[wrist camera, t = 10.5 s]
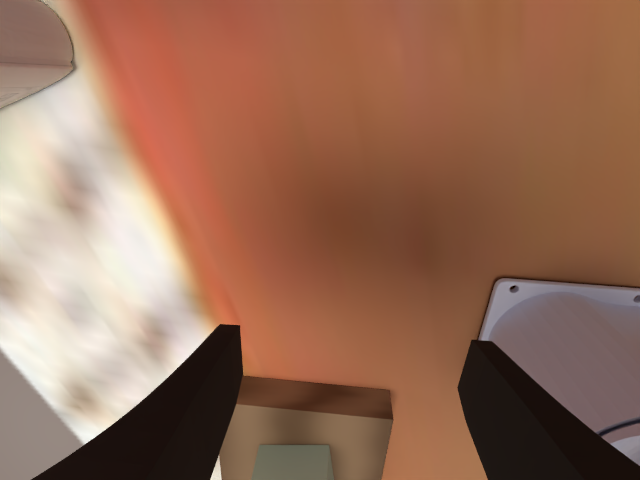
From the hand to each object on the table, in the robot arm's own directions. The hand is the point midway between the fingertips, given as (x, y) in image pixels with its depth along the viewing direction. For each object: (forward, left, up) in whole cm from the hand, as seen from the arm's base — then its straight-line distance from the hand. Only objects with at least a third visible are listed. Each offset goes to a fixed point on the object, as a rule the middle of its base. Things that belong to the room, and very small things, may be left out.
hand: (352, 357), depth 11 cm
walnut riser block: (+2, +18, -11) cm, 22 cm away
